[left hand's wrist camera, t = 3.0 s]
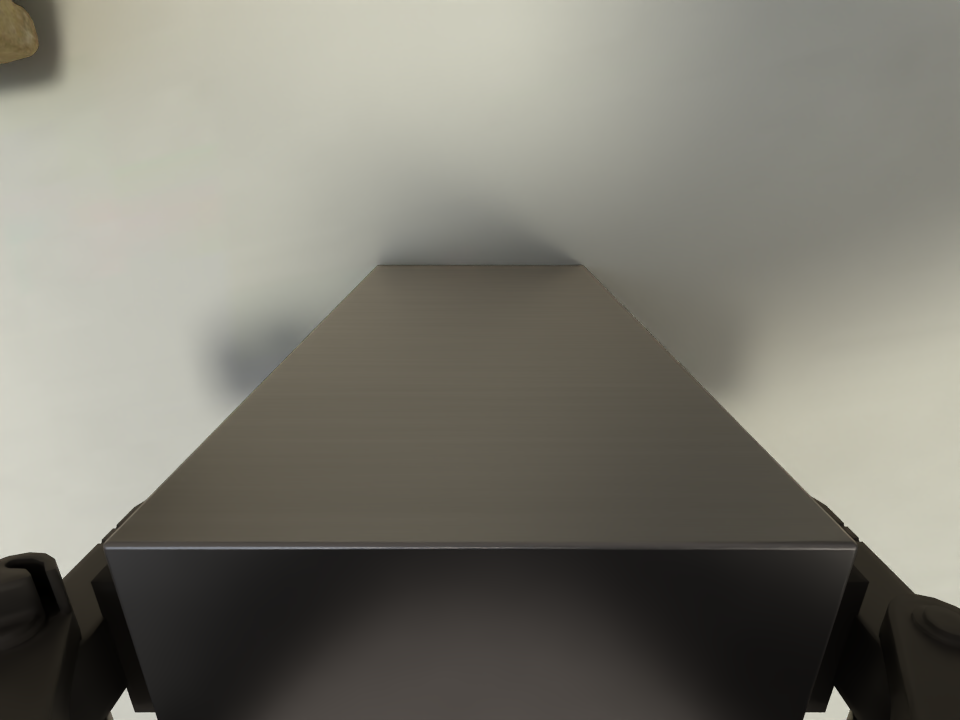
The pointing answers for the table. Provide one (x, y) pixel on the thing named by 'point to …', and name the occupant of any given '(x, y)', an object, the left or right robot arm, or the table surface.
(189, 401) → the table surface
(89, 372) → the table surface
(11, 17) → the sculpture
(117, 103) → the table surface
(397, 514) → the box
